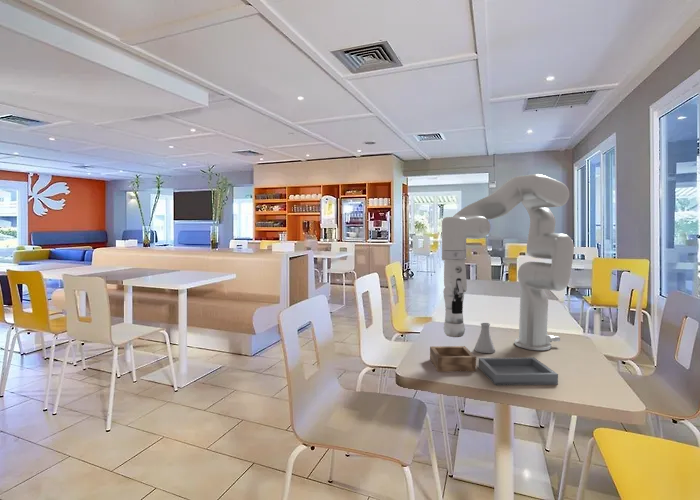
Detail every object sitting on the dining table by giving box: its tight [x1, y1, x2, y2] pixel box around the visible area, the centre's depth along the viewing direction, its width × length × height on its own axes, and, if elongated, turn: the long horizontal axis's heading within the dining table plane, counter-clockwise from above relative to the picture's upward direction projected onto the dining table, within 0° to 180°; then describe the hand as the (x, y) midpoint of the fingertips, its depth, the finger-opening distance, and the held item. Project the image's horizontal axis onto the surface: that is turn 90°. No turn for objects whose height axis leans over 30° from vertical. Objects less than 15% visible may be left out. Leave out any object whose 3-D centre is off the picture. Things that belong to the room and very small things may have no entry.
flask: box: [474, 322, 496, 354], centre depth 142 cm, size 7×7×10 cm
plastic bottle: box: [442, 285, 466, 338], centre depth 126 cm, size 6×7×20 cm
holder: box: [429, 345, 477, 373], centre depth 128 cm, size 12×11×4 cm
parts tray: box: [477, 356, 559, 386], centre depth 119 cm, size 18×14×3 cm
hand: (454, 310), depth 127 cm, fingers closed on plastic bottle, 6 cm apart
